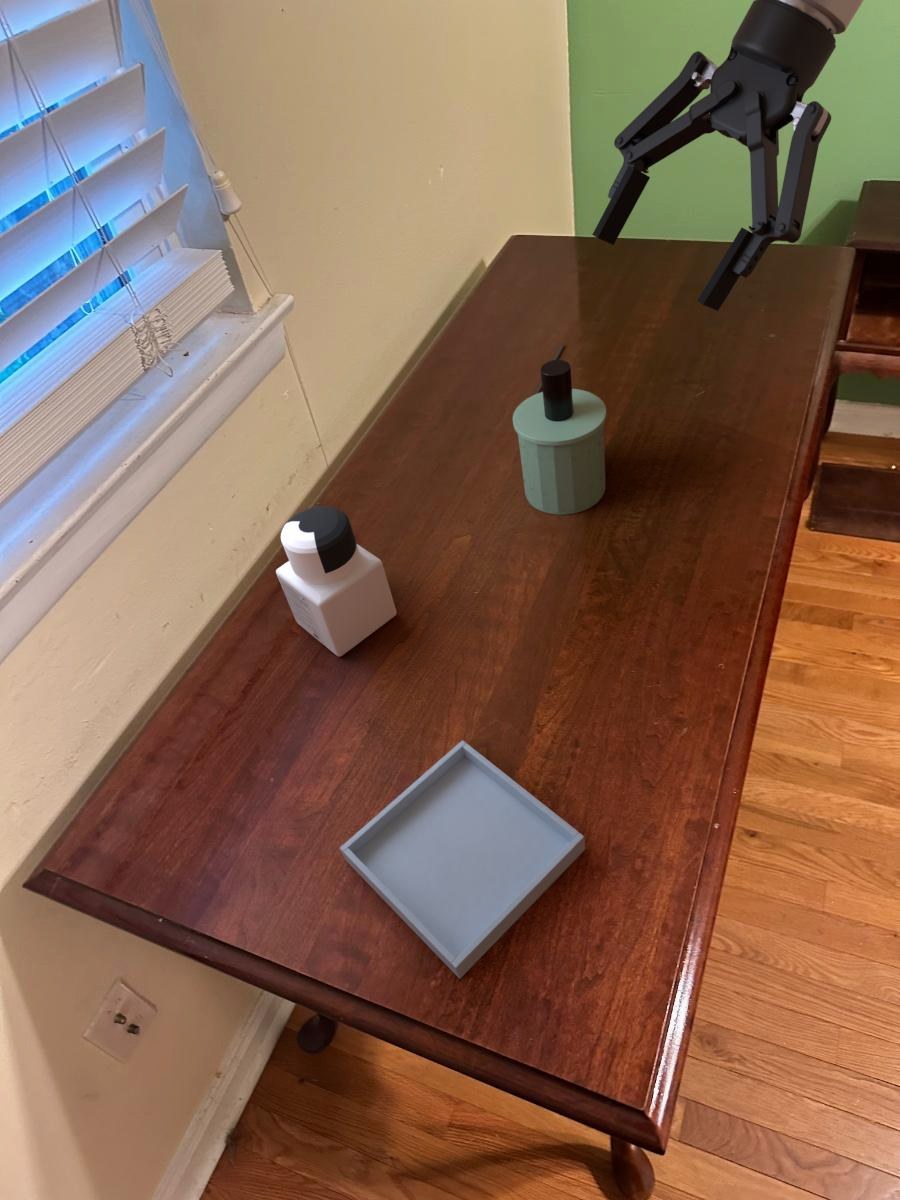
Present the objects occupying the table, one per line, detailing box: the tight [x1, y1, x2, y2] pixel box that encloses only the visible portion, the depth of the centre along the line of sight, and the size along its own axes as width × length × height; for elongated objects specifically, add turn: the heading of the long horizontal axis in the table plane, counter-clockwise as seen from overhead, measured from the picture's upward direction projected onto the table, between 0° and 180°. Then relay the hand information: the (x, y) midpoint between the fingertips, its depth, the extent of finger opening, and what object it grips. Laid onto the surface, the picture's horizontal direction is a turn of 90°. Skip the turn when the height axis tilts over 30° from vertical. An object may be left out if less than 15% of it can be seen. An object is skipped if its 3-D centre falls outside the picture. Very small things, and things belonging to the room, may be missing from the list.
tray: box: [339, 739, 586, 979], centre depth 66 cm, size 14×14×2 cm
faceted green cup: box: [517, 425, 606, 516], centre depth 93 cm, size 9×9×10 cm
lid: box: [512, 359, 607, 446], centre depth 88 cm, size 10×10×7 cm
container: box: [275, 505, 397, 658], centre depth 83 cm, size 8×8×13 cm
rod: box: [531, 344, 565, 396], centre depth 113 cm, size 1×19×1 cm, turn 158°
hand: (652, 272), depth 78 cm, fingers open, 13 cm apart
